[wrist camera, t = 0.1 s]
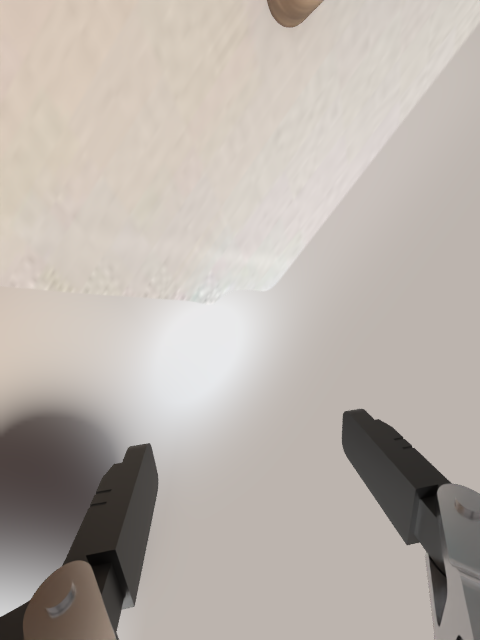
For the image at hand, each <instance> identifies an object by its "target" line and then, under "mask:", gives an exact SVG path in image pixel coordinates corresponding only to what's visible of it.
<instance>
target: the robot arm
mask: <svg viewBox="0 0 480 640" xmlns="http://www.w3.org/2000/svg"><path fill="white" fill-rule="evenodd" d="M342 426H343V427H342V445H343V449H344V452H345V454H346V456H347V458H348V459H349V461H350V462H351V463H352V465H353V467H354V468H355V469H356V471H357V473H358V474H359V475H360V477H361V478H362V480H363V481H364V483H365V484H366V486H367V487H368V489H369V490H370V492H371V493H372V494H373V496H374V497H375V499H376V500H377V502H378V503H379V505H380V506H381V508H382V509H383V511H384V512H385V514H386V515H387V517H388V518H389V519H390V521H391V522H392V524H393V525H394V527H395V528H396V530H397V531H398V533H399V534H400V536H401V537H402V539H403V540H404V542H405V543H406V544H407V545H410V544H415V543H419V542H420V543H421V544H422V546H423V547H424V549H425V550H426V555H425V556H426V557H425V558H426V567H427V576H428V585H429V593H430V602H431V611H432V619H433V628H434V640H480V494H479V493H477V492H476V491H474V490H472V489H469V488H467V487H465V486H462V485H458V484H452V483H451V482H449V481H448V480H447V479H446V478H445V477H444V476H443V475H442V474H441V473H440V472H439V471H438V470H437V469H436V468H435V467H434V466H432V465H431V463H429V462H428V461H427V460H426V459H425V458H424V457H423V456H422V455H421V454H420V453H419V452H418V451H417V450H416V449H415V448H412V445H411V444H410V443H408V442H407V441H406V440H405V439H403V437H402V436H401V435H400V434H399V433H398V432H397V431H396V430H395V429H394V428H393V427H391V426H389V425H388V424H386V423H384V422H382V421H381V420H379V419H378V420H374V419H373V418H372V417H371V416H370V415H369V414H368V413H367V412H366V411H365V410H364V409H357V410H351V411H345V412H344V413H343V425H342ZM157 491H158V473H157V469H156V465H155V460H154V456H153V451H152V447H151V445H150V444H149V443H148V444H142V445H136V446H130V447H129V448H128V450H127V452H126V454H125V457H124V459H123V462H122V463H118V464H114V465H113V466H112V467H111V468H110V470H109V471H108V472H107V473H106V474H105V475H104V476H103V478H102V480H101V482H100V484H99V487H98V489H97V491H96V495H95V496H94V498H93V500H92V502H91V504H90V508H89V509H88V511H87V513H86V515H85V518H84V520H83V522H82V524H81V526H80V529H79V531H78V533H77V535H76V537H75V540H74V542H73V544H72V546H71V548H70V551H69V553H68V555H67V558H66V560H65V561H64V563H63V565H62V567H60V568H59V569H57V570H56V571H54V572H53V573H52V574H51V575H50V576H49V577H48V578H47V579H46V580H45V581H44V582H43V583H42V584H41V585H40V587H39V588H38V589H37V591H36V592H35V593H34V595H33V597H32V598H31V600H30V601H28V602H27V603H25V604H23V605H22V606H20V607H18V608H16V609H14V610H13V611H11V612H9V613H7V614H6V615H4V616H2V617H0V640H119V638H118V635H117V633H116V631H117V627H118V622H119V617H120V614H121V610H122V609H126V608H130V607H134V606H135V601H136V596H137V591H138V586H139V581H140V576H141V571H142V566H143V561H144V556H145V551H146V546H147V541H148V536H149V531H150V526H151V521H152V516H153V511H154V506H155V501H156V496H157Z"/></svg>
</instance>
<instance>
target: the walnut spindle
mask: <svg viewBox="0 0 480 640" xmlns="http://www.w3.org/2000/svg"><path fill="white" fill-rule="evenodd" d="M323 1H324V0H267V2H268V6H269V9H270V12H271V14H272V16H273V17H274V19H275V20H276V21H277V22H278V23H279V24H280V25H282V26H284V27H295V26H297V25H299V24H300V23H302V22H303V21H304V20H305V19H306V18H307V17H308V16H309V15H310V14H311V13H312V12H313V11H314V10H315V9H316V8H317V7H318V6H319V5H320V4H321V3H322V2H323Z"/></svg>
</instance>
